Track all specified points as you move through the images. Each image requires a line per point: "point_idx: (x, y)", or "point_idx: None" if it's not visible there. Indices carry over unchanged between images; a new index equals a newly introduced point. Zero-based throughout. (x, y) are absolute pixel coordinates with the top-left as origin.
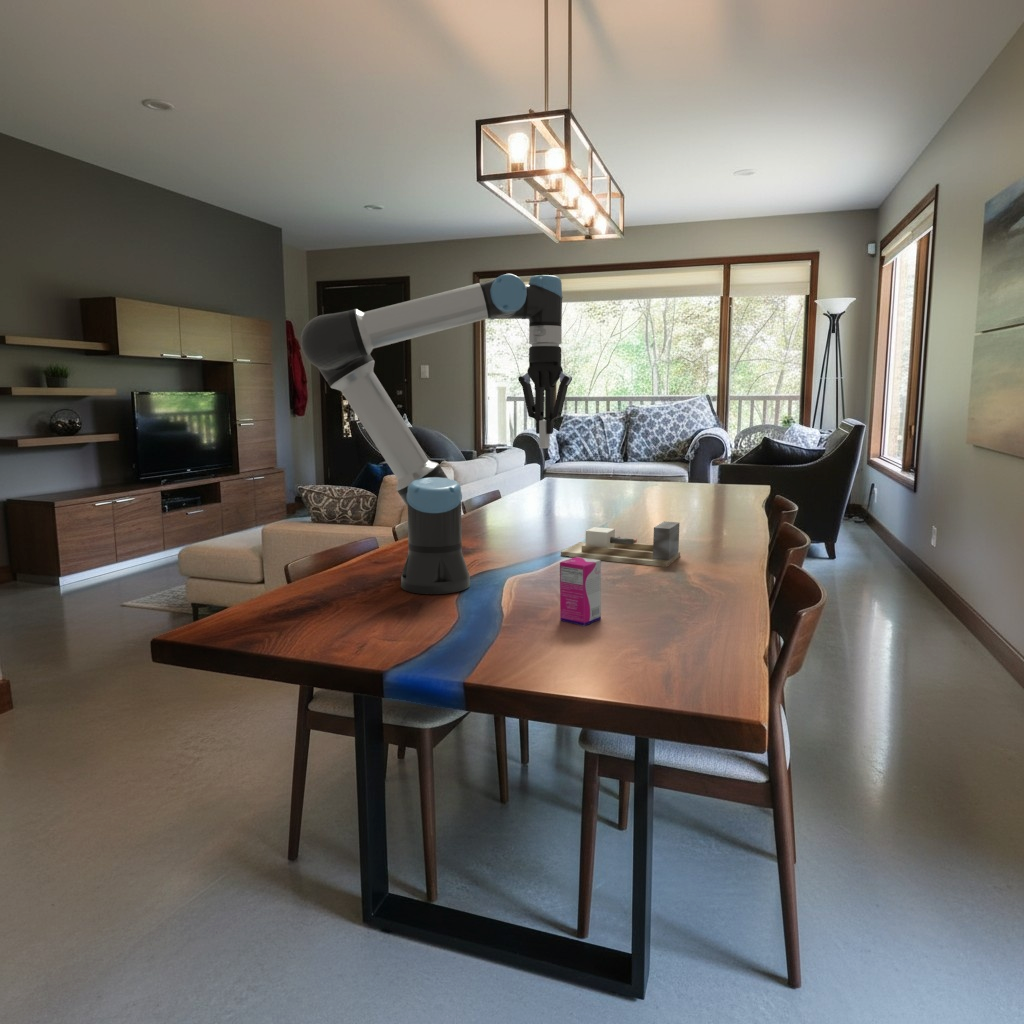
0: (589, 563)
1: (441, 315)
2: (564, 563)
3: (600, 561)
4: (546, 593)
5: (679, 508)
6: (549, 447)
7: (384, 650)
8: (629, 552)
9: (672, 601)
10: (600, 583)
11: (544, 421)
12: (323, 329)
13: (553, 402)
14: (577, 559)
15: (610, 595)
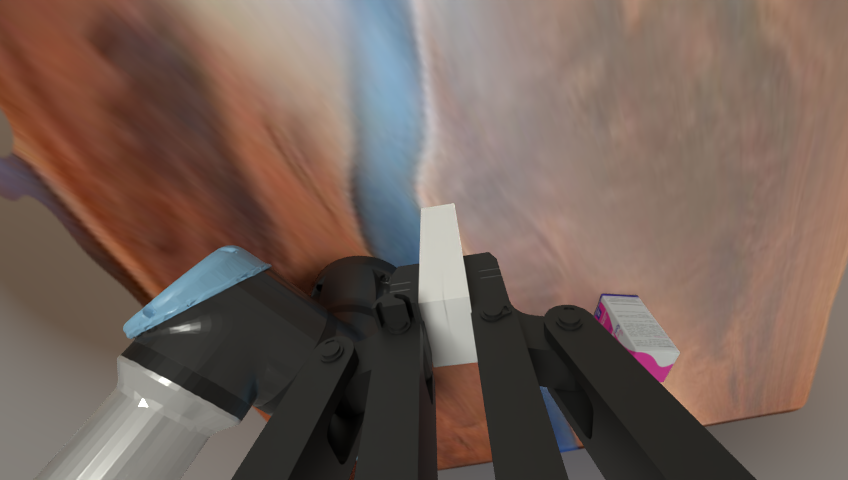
0: (668, 372)
1: None
2: None
3: (679, 352)
4: (522, 242)
5: None
6: (454, 204)
7: (484, 438)
8: None
9: (727, 170)
10: (661, 328)
11: (473, 357)
12: None
13: (553, 446)
14: (643, 362)
15: (619, 197)
